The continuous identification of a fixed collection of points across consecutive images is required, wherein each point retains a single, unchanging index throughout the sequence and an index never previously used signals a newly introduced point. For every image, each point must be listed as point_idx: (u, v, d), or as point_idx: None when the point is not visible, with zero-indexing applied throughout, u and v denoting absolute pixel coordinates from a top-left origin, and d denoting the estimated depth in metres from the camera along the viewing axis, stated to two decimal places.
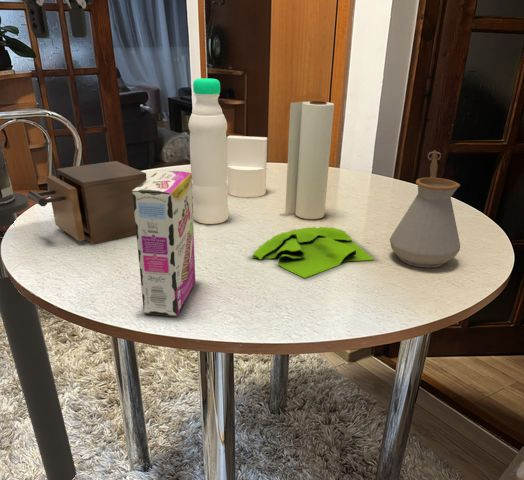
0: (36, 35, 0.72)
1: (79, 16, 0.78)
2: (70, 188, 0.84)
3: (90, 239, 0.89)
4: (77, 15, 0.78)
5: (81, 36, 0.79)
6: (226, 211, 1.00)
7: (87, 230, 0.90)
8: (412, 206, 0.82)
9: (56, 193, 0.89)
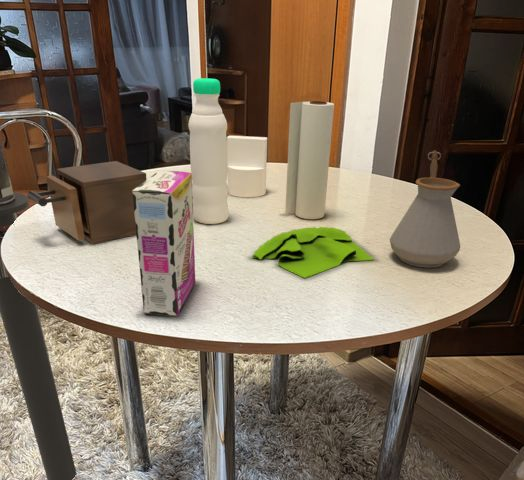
0: None
1: None
2: (70, 188, 0.84)
3: (90, 239, 0.89)
4: None
5: None
6: (226, 211, 1.00)
7: (87, 230, 0.90)
8: (412, 206, 0.82)
9: (56, 193, 0.89)
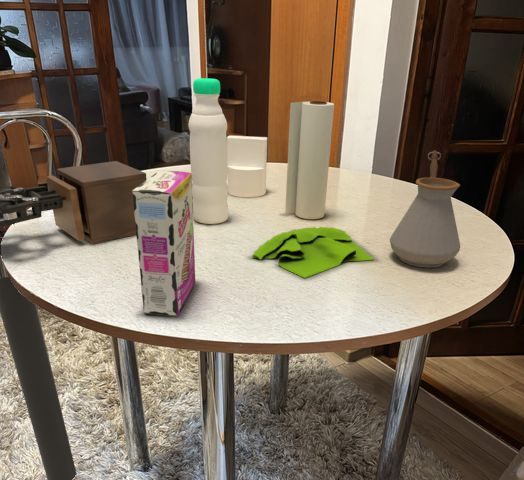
0: (61, 205, 0.85)
1: None
2: (70, 188, 0.84)
3: (90, 239, 0.89)
4: None
5: (47, 189, 0.89)
6: (226, 211, 1.00)
7: (87, 230, 0.90)
8: (412, 206, 0.82)
9: (56, 193, 0.89)
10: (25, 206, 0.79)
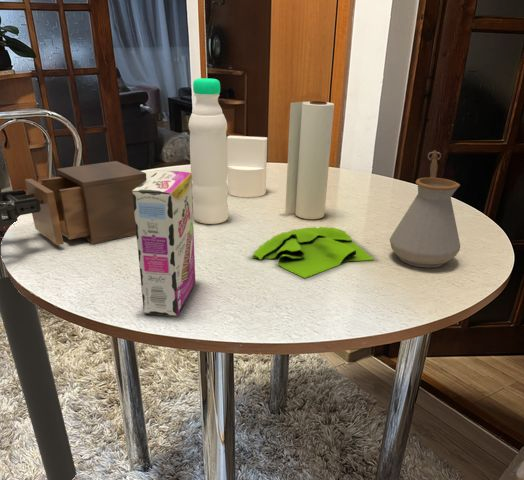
0: (38, 208, 0.83)
1: None
2: (47, 192, 0.82)
3: (90, 239, 0.89)
4: None
5: (25, 193, 0.87)
6: (226, 211, 1.00)
7: (66, 234, 0.88)
8: (412, 206, 0.82)
9: (34, 196, 0.87)
10: (0, 210, 0.77)
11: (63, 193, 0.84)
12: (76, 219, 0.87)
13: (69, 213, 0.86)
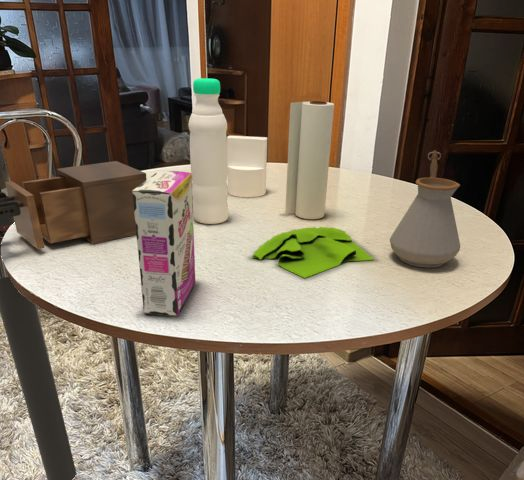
0: (18, 212, 0.81)
1: None
2: (27, 195, 0.80)
3: (90, 239, 0.89)
4: None
5: (5, 195, 0.85)
6: (226, 211, 1.00)
7: (48, 238, 0.86)
8: (412, 206, 0.82)
9: (15, 200, 0.85)
10: None
11: (43, 196, 0.82)
12: (57, 223, 0.85)
13: (50, 216, 0.84)
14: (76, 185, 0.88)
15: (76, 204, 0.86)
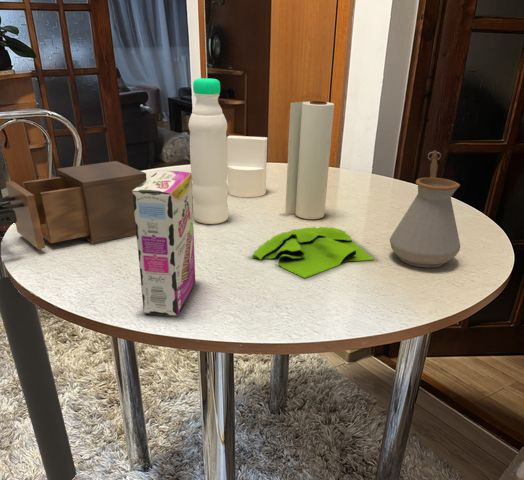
0: (14, 220, 0.81)
1: None
2: (27, 195, 0.80)
3: (90, 239, 0.89)
4: None
5: None
6: (226, 211, 1.00)
7: (48, 238, 0.86)
8: (412, 206, 0.82)
9: (15, 199, 0.85)
10: None
11: (44, 196, 0.82)
12: (58, 222, 0.85)
13: (50, 216, 0.84)
14: (76, 185, 0.88)
15: (76, 204, 0.86)
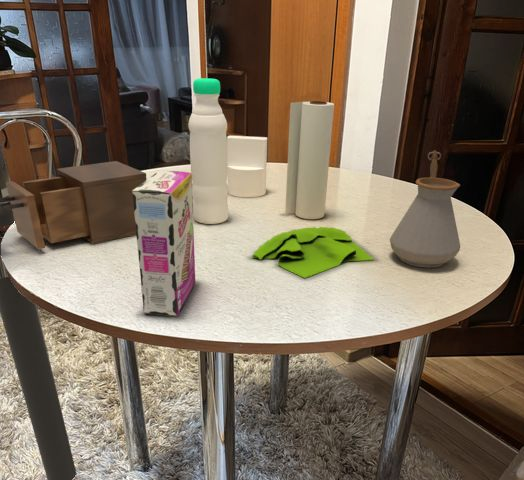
0: None
1: None
2: (27, 195, 0.80)
3: (90, 239, 0.89)
4: None
5: None
6: (226, 211, 1.00)
7: (48, 238, 0.86)
8: (412, 206, 0.82)
9: (15, 199, 0.85)
10: None
11: (44, 196, 0.82)
12: (58, 222, 0.85)
13: (50, 216, 0.84)
14: (76, 185, 0.88)
15: (76, 204, 0.86)
